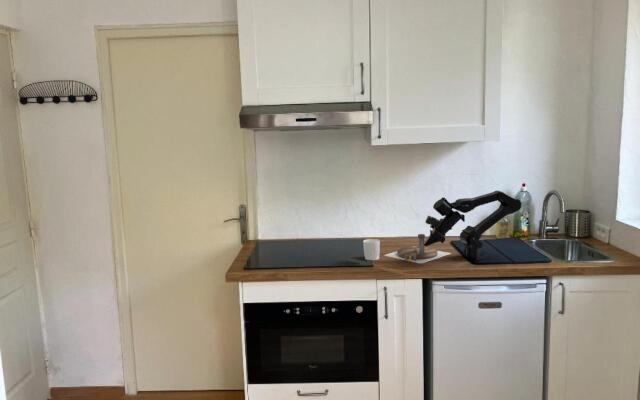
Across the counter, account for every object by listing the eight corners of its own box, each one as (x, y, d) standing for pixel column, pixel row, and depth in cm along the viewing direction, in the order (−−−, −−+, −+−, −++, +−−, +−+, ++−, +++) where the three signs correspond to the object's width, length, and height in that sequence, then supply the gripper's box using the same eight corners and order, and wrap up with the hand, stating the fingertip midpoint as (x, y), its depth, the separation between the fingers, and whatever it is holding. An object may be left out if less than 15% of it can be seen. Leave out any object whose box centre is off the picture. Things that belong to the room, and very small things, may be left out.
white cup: (381, 259, 244) (380, 238, 242) (379, 263, 236) (378, 242, 235) (364, 259, 245) (364, 239, 244) (362, 263, 238) (362, 242, 236)
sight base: (451, 256, 242) (451, 248, 242) (421, 266, 228) (420, 258, 227) (414, 249, 260) (414, 242, 259) (383, 258, 245) (383, 250, 245)
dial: (445, 253, 241) (445, 230, 240) (418, 261, 230) (418, 237, 229) (416, 247, 256) (415, 225, 255) (389, 254, 245) (388, 231, 244)
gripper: (434, 206, 240) (411, 229, 243) (437, 213, 222) (412, 238, 225) (451, 222, 240) (428, 245, 243) (455, 230, 222) (430, 255, 225)
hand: (424, 245), depth 234 cm, fingers closed, pressing on dial
